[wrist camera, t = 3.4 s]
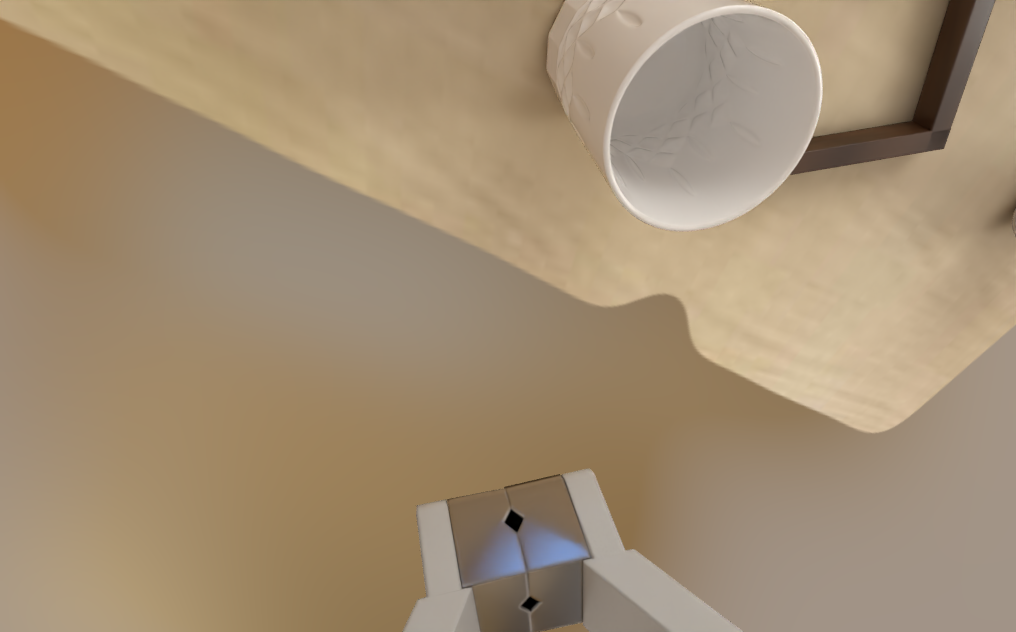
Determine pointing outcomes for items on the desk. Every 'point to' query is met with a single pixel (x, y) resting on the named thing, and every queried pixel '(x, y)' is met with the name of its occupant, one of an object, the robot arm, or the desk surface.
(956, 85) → the dock
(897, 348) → the desk surface
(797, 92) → the white cup
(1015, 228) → the sculpted head
